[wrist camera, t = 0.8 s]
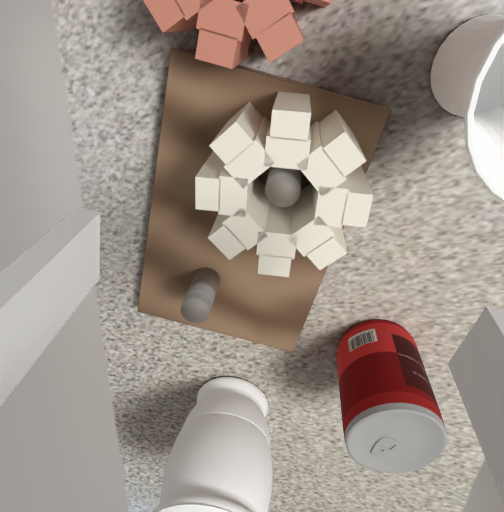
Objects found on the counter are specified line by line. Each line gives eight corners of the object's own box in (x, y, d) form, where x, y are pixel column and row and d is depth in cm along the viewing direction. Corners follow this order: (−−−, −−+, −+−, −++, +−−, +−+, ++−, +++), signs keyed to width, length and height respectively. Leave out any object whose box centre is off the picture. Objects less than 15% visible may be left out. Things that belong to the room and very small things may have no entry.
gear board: (177, 47, 30) (147, 53, 24) (387, 107, 30) (406, 126, 25) (142, 302, 42) (117, 345, 36) (293, 342, 42) (291, 391, 37)
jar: (173, 379, 47) (123, 515, 34) (254, 358, 44) (234, 498, 31) (213, 437, 51) (184, 577, 38) (290, 422, 48) (286, 568, 35)
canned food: (324, 364, 43) (330, 460, 34) (353, 307, 39) (369, 397, 30) (392, 383, 44) (418, 484, 34) (428, 328, 40) (468, 425, 30)
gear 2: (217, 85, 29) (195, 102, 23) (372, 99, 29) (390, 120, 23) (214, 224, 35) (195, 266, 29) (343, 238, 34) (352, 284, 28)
